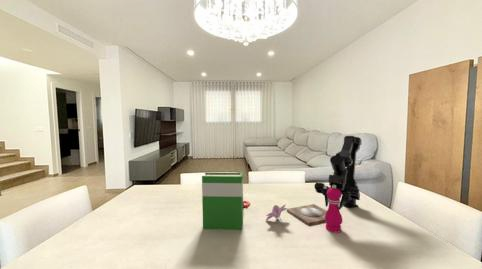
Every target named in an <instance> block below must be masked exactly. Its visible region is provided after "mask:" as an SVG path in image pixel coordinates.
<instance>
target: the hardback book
mask: <svg viewBox="0 0 482 269" xmlns="http://www.w3.org/2000/svg"><path fill="white" fill-rule="evenodd" d="M204 174H205V175H201V192H202V193H201V194H202V195H201V198H202V202H201V203H202V204H201V205H202V229H203V230H225V231H226V230H232V231H234V230H235V231H242V230H243V225H244V207H243V201H244V184H243V183H244V181H243V180H244V178H243V177H244V176H243V175H244V173H243V172H205V173H204Z"/></svg>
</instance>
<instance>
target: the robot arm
mask: <svg viewBox="0 0 482 269" xmlns="http://www.w3.org/2000/svg"><path fill="white" fill-rule="evenodd" d="M361 146H362V138H361V137H359V136H354V135H345V136H344V137H343V144H342V148H341V150H340V151H338V152H337V153H336V154H335V155H332V156H331V157H330V158H329V161H330V165H331V167H332V170H333V174H329V175H328V184H329V186H327V185H325V183H324V182H319V181H316V182H315V183H314V190H315V192H316V193H317V194H322V195H323V196H324V202H325V207H326V208H327V207H329V202H328V196H327V190H328V189H329V188H332V185H336V188H337V189H339V190H340V191H341V198H340V203H339V211H340V210H341V209H342V208H343V207H344V206H345V207H347V208H348V209H351V208H356V207H359V205H358V204H357V201H359V200H360V199H361V193H360V188H359V187H358V182H357V181H356V179H355V173H356V159H357V152H358V151H360V148H361Z"/></svg>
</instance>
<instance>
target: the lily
mask: <svg viewBox="0 0 482 269" xmlns="http://www.w3.org/2000/svg"><path fill="white" fill-rule="evenodd" d="M286 206H287V204H283V205H282V206H279V205H278V204H275V205H273V207H272V209H271V212H269V213H267V214H266V217H267V218H266V219H265V222H266V221H268V220H270V219H272V218H273V217H274V218H275V219H278V218H279V220H280V223H281V226H284V225H283V222H282V219H281V213H282V212H284V211H287V209H288V208H286Z"/></svg>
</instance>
